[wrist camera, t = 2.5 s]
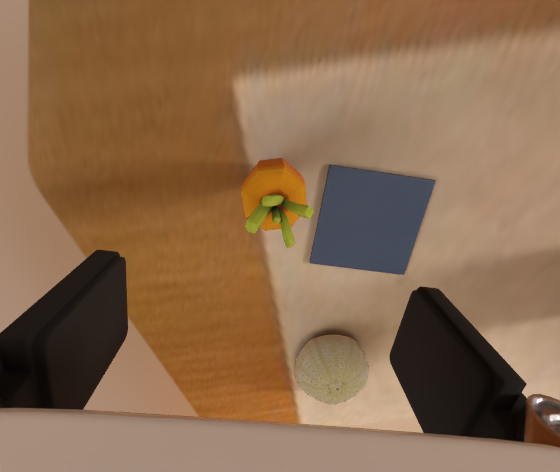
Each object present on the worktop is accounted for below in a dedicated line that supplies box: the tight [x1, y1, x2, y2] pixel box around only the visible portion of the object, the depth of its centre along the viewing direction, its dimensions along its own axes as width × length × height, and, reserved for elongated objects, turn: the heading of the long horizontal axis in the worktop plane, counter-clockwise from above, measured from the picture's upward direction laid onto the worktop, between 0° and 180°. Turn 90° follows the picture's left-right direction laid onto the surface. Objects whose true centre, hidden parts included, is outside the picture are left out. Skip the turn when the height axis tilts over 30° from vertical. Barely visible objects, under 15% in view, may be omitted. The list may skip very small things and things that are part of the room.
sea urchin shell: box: [295, 334, 369, 405], centre depth 40 cm, size 9×8×8 cm
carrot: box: [241, 158, 314, 248], centre depth 25 cm, size 5×5×15 cm
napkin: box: [310, 165, 435, 275], centre depth 34 cm, size 11×11×1 cm
